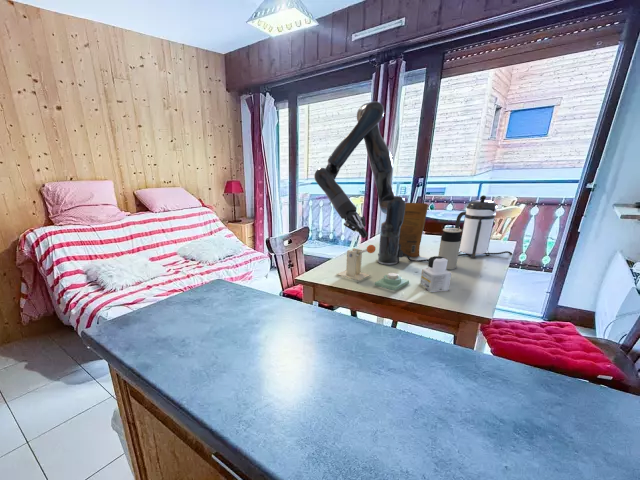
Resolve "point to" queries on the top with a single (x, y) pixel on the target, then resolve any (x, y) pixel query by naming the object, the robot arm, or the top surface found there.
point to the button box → (391, 283)
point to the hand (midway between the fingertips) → (365, 236)
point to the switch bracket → (353, 266)
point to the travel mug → (450, 246)
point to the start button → (392, 276)
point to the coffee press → (477, 226)
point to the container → (436, 275)
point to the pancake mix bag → (413, 228)
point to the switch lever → (367, 250)
